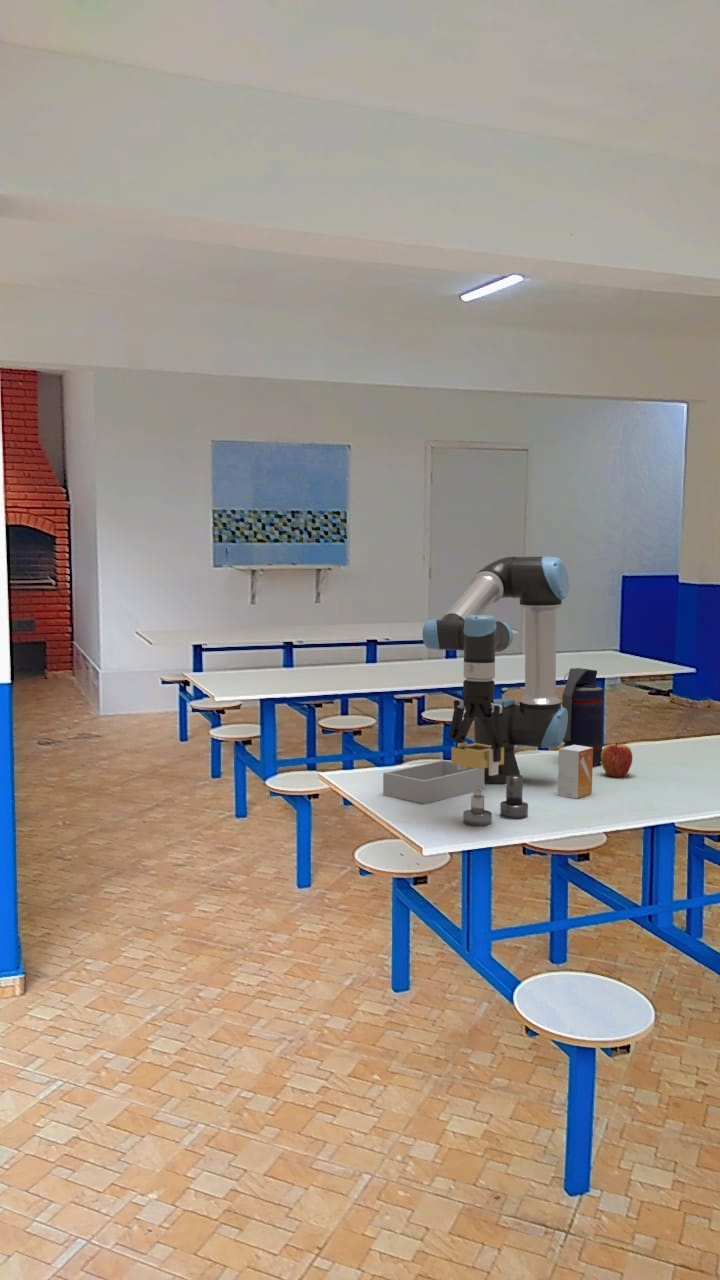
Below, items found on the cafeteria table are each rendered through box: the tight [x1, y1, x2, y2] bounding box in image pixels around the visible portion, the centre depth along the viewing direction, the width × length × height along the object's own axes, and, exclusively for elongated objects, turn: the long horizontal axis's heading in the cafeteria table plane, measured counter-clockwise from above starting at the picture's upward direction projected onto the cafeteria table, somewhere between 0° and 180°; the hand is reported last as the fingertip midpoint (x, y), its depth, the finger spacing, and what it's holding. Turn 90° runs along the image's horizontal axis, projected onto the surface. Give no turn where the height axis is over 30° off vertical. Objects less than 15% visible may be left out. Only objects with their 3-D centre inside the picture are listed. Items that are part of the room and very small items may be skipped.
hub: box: [462, 790, 493, 827], centre depth 245 cm, size 7×7×8 cm
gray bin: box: [382, 759, 485, 805], centre depth 277 cm, size 15×25×6 cm, turn 134°
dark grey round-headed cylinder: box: [499, 774, 529, 820], centre depth 252 cm, size 7×7×10 cm
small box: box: [557, 745, 594, 799], centre depth 274 cm, size 8×6×13 cm
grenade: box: [561, 667, 605, 766], centre depth 314 cm, size 14×12×30 cm
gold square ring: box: [450, 742, 504, 769], centre depth 243 cm, size 9×9×4 cm
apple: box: [601, 742, 633, 778], centre depth 298 cm, size 9×9×10 cm
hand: (477, 771), depth 244 cm, fingers closed on gold square ring, 9 cm apart
